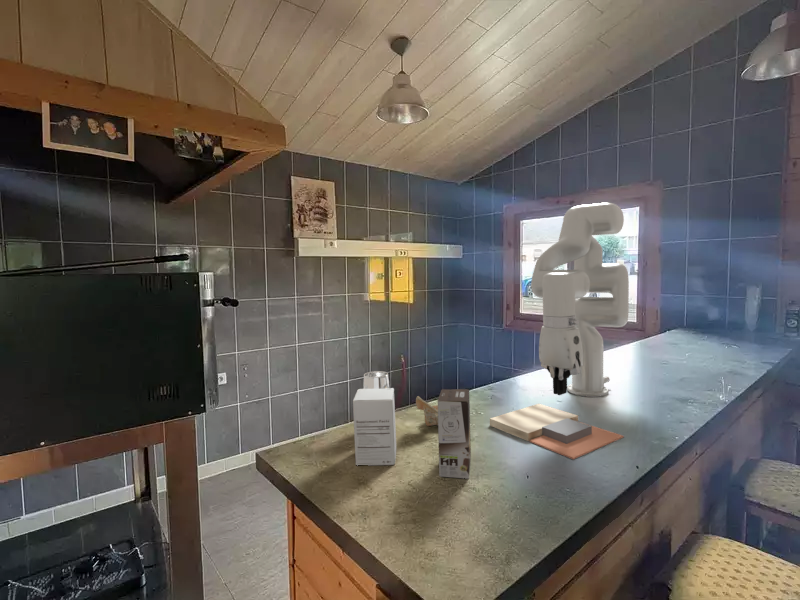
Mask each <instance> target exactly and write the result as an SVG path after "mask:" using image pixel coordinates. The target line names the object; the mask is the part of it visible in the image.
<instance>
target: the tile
mask: <svg viewBox="0 0 800 600" xmlns="http://www.w3.org/2000/svg"><path fill="white" fill-rule="evenodd" d="M584 423H585V422H582V423H581V421H578V422H577V421H574V420H571V419H568V418H567V419H564V420H561V421H558V422H555V423H552V424H549V425H547V426H544V427H542V435H544V436H547V437H549V438H552V439H555V440H557V441H560V442H563V443H565V444H568V443H570V442H573V441H575V440H578V439H580V438H583V437H585V436H588V435H590V434H592V426H593V425H591V424H588V425H587V423H585V424H584ZM590 425H591V426H590Z"/></svg>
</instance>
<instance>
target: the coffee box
mask: <svg viewBox="0 0 800 600" xmlns="http://www.w3.org/2000/svg"><path fill="white" fill-rule="evenodd" d="M437 405H438V426H437V429H438V431H437V432H438V433H437V434H438V435H437V437H438V473H439V474H438V476H439V477H440V478H455V479H464V478H465V479H466V480H467V479H470V473H471V472H470V471H471V462H472V458H471V457H472V452H471V451H472V449H471V448H472V447H471V446H472V445H471V415H470V414H471V411H470V408H471V406H470V405H471V403H470V389H467V388H462V389H461V388H457V389H455V388H454V389H445V388H444V389H441V390H440V393H439V395H438V398H437Z"/></svg>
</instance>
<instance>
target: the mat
mask: <svg viewBox="0 0 800 600" xmlns="http://www.w3.org/2000/svg"><path fill="white" fill-rule="evenodd" d="M580 422H581V421H580ZM581 423H584V424H587V423H585V422H581ZM587 425H590V426H592V434H590V435H588V436H585V437H583V438H580V439H578V440H575V441H573V442H570V443H568V444H565V443H563V442H560V441H557V440H555V439H552V438H549V437H547V436H544V435H542V436H540V437H537V438H534V439H531V440H530V441H529V443H531V444H534V445H536V446H539V447H541V448H544V449H546V450H549V451H552V452H554V453H556V454H559V455H562V456H564V457H567V458H569V459H571V460H576V459H577V458H579V457H582V456H584V455H587V454H589V453H592V452H594V451H596V450H598V449H601V448H603V447H605V446H608V445H610V444H612V443H614V442H616V441H619V440H621V439H623V438H625V436H624V435H622V434H620V433H616V432H613V431H610V430H606V429H604V428H600V427H597V426H594V425H591V424H587Z"/></svg>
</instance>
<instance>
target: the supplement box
mask: <svg viewBox="0 0 800 600" xmlns="http://www.w3.org/2000/svg"><path fill="white" fill-rule="evenodd" d="M395 406H396V405H395V388H394V387H389V388H383V389H364V388H359V389H357V391H356V393H355V395H354V396H353V400H352V408H353V409H352V410H353V412H352V414H353V431H354V432H353V433H354V434H353V435H354V454H355V466H356V465H357V467H359V466H358V465H368V466H395V465H396V459H397V458H396V457H397V431H396V430H397V428H396V407H395ZM394 464H395V465H394Z"/></svg>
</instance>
